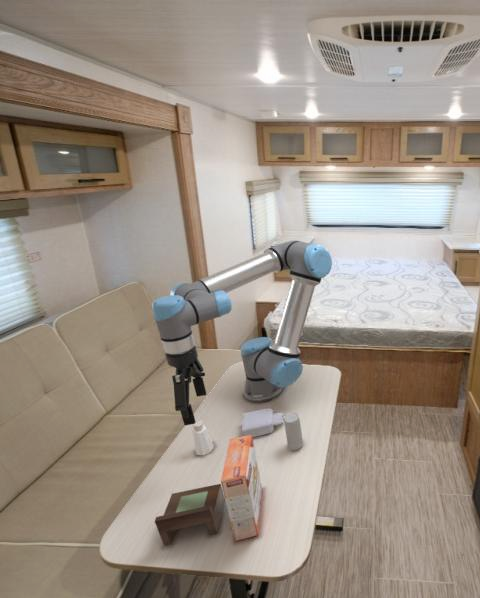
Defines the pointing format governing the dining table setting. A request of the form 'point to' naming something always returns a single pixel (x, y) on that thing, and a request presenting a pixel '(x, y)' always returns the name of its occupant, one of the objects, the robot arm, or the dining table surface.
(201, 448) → the salt shaker
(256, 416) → the charger
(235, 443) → the cracker box
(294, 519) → the dining table surface
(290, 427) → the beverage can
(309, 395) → the dining table surface
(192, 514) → the shelf
